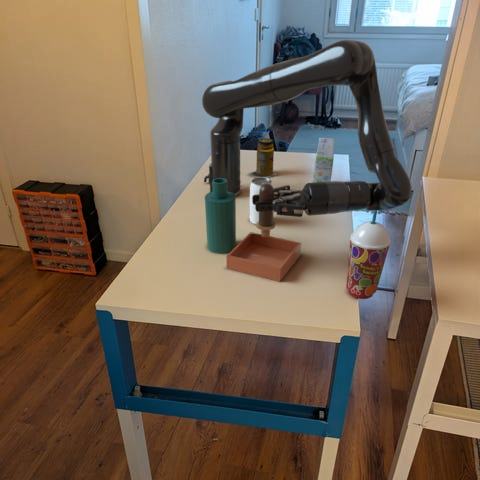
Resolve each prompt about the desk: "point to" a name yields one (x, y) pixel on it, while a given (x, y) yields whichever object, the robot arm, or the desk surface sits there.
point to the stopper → (266, 216)
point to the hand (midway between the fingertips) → (254, 203)
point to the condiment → (264, 159)
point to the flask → (220, 218)
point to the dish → (264, 256)
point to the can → (254, 190)
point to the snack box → (324, 160)
